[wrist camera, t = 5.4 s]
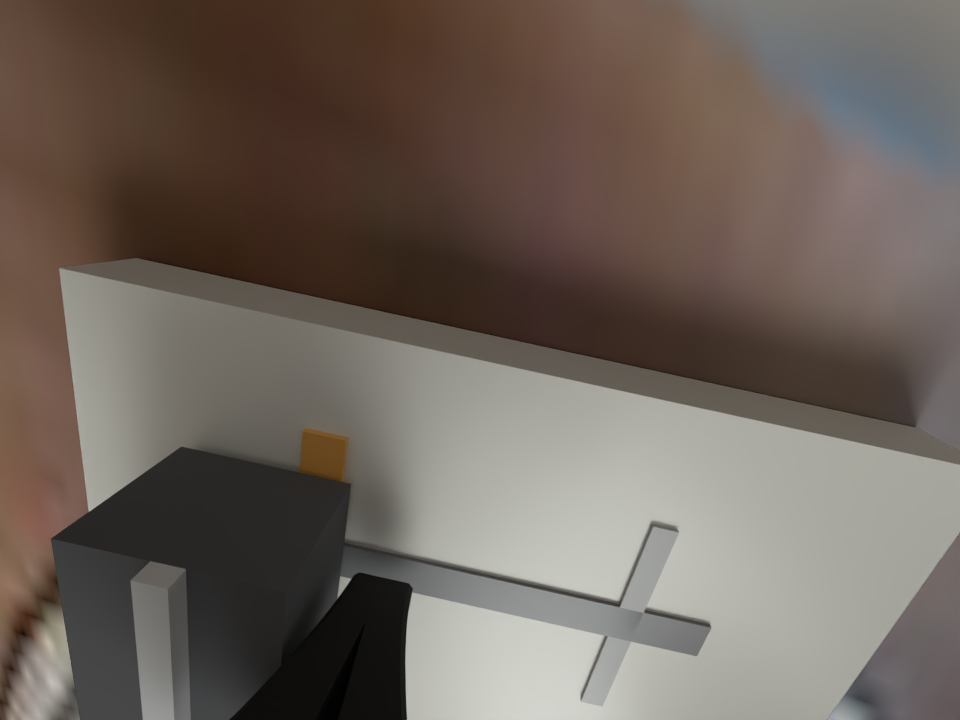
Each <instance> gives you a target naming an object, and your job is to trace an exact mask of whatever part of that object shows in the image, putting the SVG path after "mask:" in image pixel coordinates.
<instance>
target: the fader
mask: <svg viewBox="0 0 960 720" xmlns="http://www.w3.org/2000/svg"><path fill="white" fill-rule="evenodd" d="M350 490H351V484H348V483H344V482H339V481H335V480H330V479H326V478H321V477H317V476H312V475H308V474H303V473H299V472H294V471H290V470H285V469H281V468H276V467H272V466H267V465H263V464H258V463H254V462H249V461H245V460H240V459H236V458H231V457H227V456H222V455H218V454H213V453H209V452H204V451H200V450H195V449H191V448H186V447H182V446H181V447H180V448H179V449H177V450H176V451H174V452H173V453H171V454H170V455H169V456H167V457H166V458H164V459H163V460H162V461H160V462H159V463H157V464H156V465H155V466H153V467H152V468H150V469H149V470H147V471H146V472H145V473H143V474H142V475H140V476H139V477H138V478H136V479H135V480H133V481H132V482H130V483H129V484H128V485H126V486H125V487H123V488H122V489H121V490H119V491H118V492H116V493H115V494H114V495H112V496H111V497H109V498H108V499H106V500H105V501H104V502H102V503H101V504H99V505H98V506H97V507H95V508H94V509H92V510H91V511H89V512H88V513H87V514H85V515H84V516H82V517H81V518H80V519H78V520H77V521H75V522H74V523H73V524H71V525H70V526H68V527H67V528H65V529H64V530H63V531H61V532H60V533H58V534H57V535H56V536H54V537H53V538H51V542H52V548H53V554H54V560H55V567H56V573H57V579H58V585H59V591H60V598H61V604H62V610H63V616H64V622H65V629H66V635H67V641H68V647H69V653H70V660H71V666H72V672H73V678H74V684H75V690H76V697H77V703H78V709H79V715H80V720H229V719H230V718H231V717H232V716H233V715H235V714H236V713H237V712H238V711H239V710H240V709H241V708H242V707H243V706H244V705H245V704H246V702H247V701H248V700H249V699H250V698H251V697H252V696H253V695H254V694H255V693H256V692H257V691H258V690H259V689H260V688H261V687H262V686H263V685H264V684H265V683H266V681H267V680H268V679H269V678H270V677H271V676H272V675H273V674H274V673H275V672H276V671H277V670H278V669H279V668H280V667H281V666H282V665H283V663H284V662H285V661H286V660H287V659H288V658H289V657H290V656H291V654H292V653H293V652H294V651H295V650H296V649H297V647H298V646H299V645H300V644H301V643H302V642H303V641H304V639H305V638H306V637H307V636H308V635H309V634H310V632H311V631H312V630H313V629H314V628H315V627H316V625H317V624H318V623H319V622H320V620H321V619H322V618H323V617H324V615H325V614H326V613H327V612H328V610H329V609H330V608H331V607H332V605H333V604H334V603H335V601H336V600H337V597H338V589H339V581H340V572H341V564H342V556H343V547H344V539H345V531H346V523H347V514H348V506H349V498H350Z"/></svg>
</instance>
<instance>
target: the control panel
mask: <svg viewBox="0 0 960 720" xmlns="http://www.w3.org/2000/svg"><path fill="white" fill-rule="evenodd" d="M59 271H60V280H61V288H62V296H63V304H64V312H65V321H66V329H67V337H68V345H69V353H70V362H71V370H72V378H73V386H74V394H75V403H76V411H77V419H78V427H79V435H80V444H81V452H82V460H83V468H84V476H85V485H86V493H87V501H88V509H89V511H91V510H92V509H94V508H95V507H97V506H98V505H99V504H101V503H102V502H104V501H105V500H106V499H108V498H109V497H111V496H112V495H114V494H115V493H116V492H118V491H119V490H121V489H122V488H123V487H125V486H126V485H128V484H129V483H130V482H132V481H133V480H135V479H136V478H138V477H139V476H140V475H142V474H143V473H145V472H146V471H147V470H149V469H150V468H152V467H153V466H155V465H156V464H157V463H159V462H160V461H162V460H163V459H164V458H166V457H167V456H169V455H170V454H171V453H173V452H174V451H176V450H177V449H179V448H180V447H181V446H182V447H186V448H191V449H195V450H200V451H204V452H209V453H213V454H218V455H222V456H227V457H231V458H236V459H240V460H245V461H249V462H254V463H258V464H263V465H267V466H272V467H276V468H281V469H285V470H290V471H294V472H299V473H303V474H308V475H312V476H317V477H321V478H326V479H330V480H335V481H339V482H344V483H348V484H351V490H350V498H349V506H348V514H347V523H346V531H345V539H344V547H343V556H342V564H341V572H340V581H339V589H338V597H339V596H340V595H341V593H342V592H343V590H344V589H345V588H346V586H347V585H348V583H349V582H350V580H351V579H352V577H353V576H354V575H355V574H357V573H359V572H360V573H365V574H369V575H374V576H378V577H383V578H387V579H392V580H396V581H401V582H405V583H409V584H410V585H411V587H412V588H413V591H412V596H411V601H410V606H409V611H408V619H407V631H406V656H405V667H406V708H407V720H827V719H828V717H829V716H830V715H831V713H832V712H833V710H834V709H835V707H836V706H837V705H838V703H839V702H840V700H841V699H842V698H843V696H844V695H845V693H846V692H847V691H848V689H849V688H850V686H851V685H852V683H853V682H854V681H855V679H856V678H857V676H858V675H859V674H860V672H861V671H862V669H863V668H864V667H865V665H866V664H867V662H868V661H869V659H870V658H871V657H872V655H873V654H874V652H875V651H876V650H877V648H878V647H879V645H880V644H881V643H882V641H883V640H884V638H885V637H886V636H887V634H888V633H889V631H890V630H891V628H892V627H893V626H894V624H895V623H896V621H897V620H898V619H899V617H900V616H901V614H902V613H903V612H904V610H905V609H906V607H907V606H908V604H909V603H910V602H911V600H912V599H913V597H914V596H915V595H916V593H917V592H918V590H919V589H920V588H921V586H922V585H923V583H924V582H925V580H926V579H927V578H928V576H929V575H930V573H931V572H932V571H933V569H934V568H935V566H936V565H937V564H938V562H939V561H940V559H941V558H942V556H943V555H944V554H945V552H946V551H947V549H948V548H949V547H950V545H951V544H952V542H953V541H954V540H955V538H956V537H957V535H958V534H959V533H960V451H958V450H957V449H955V448H953V447H951V446H949V445H948V444H946V443H944V442H942V441H940V440H938V439H937V438H935V437H933V436H931V435H929V434H928V433H926V432H924V431H922V430H920V429H918V428H915V427H910V426H906V425H901V424H896V423H892V422H887V421H883V420H878V419H874V418H869V417H864V416H860V415H855V414H851V413H846V412H841V411H837V410H832V409H828V408H823V407H818V406H814V405H809V404H805V403H800V402H795V401H791V400H786V399H782V398H777V397H772V396H768V395H763V394H759V393H754V392H750V391H745V390H740V389H736V388H731V387H727V386H722V385H717V384H713V383H708V382H704V381H699V380H694V379H690V378H685V377H681V376H676V375H671V374H667V373H662V372H658V371H653V370H649V369H644V368H639V367H635V366H630V365H626V364H621V363H616V362H612V361H607V360H603V359H598V358H593V357H589V356H584V355H580V354H575V353H570V352H566V351H561V350H557V349H552V348H548V347H543V346H538V345H534V344H529V343H525V342H520V341H515V340H511V339H506V338H502V337H497V336H492V335H488V334H483V333H479V332H474V331H469V330H465V329H460V328H456V327H451V326H446V325H442V324H437V323H433V322H428V321H424V320H419V319H414V318H410V317H405V316H401V315H396V314H391V313H387V312H382V311H378V310H373V309H368V308H364V307H359V306H355V305H350V304H345V303H341V302H336V301H332V300H327V299H323V298H318V297H313V296H309V295H304V294H300V293H295V292H290V291H286V290H281V289H277V288H272V287H267V286H263V285H258V284H254V283H249V282H244V281H240V280H235V279H231V278H226V277H222V276H217V275H212V274H208V273H203V272H199V271H194V270H189V269H185V268H180V267H176V266H171V265H166V264H162V263H157V262H153V261H148V260H143V259H139V258H133V259H125V260H118V261H110V262H102V263H95V264H87V265H79V266H72V267H64V268H59ZM338 597H337V599H338Z"/></svg>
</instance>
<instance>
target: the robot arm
mask: <svg viewBox="0 0 960 720" xmlns="http://www.w3.org/2000/svg"><path fill="white" fill-rule="evenodd" d="M412 591H413V588H412V587H411V585H410V584H409V583H405V582H401V581H396V580H392V579H387V578H383V577H378V576H374V575H369V574H365V573H360V572H359V573H357V574H355V575H354V576H353V577H352V579H351V580H350V582H349V583H348V585H347V586H346V588H345V589H344V590H343V592H342V593H341V595H340V596H339V597H338V599H337V600H336V601H335V603H334V604H333V605H332V607H331V608H330V609H329V610H328V612H327V613H326V614H325V615H324V617H323V618H322V619H321V620H320V622H319V623H318V624H317V625H316V627H315V628H314V629H313V630H312V631H311V632H310V634H309V635H308V636H307V637H306V638H305V639H304V641H303V642H302V643H301V644H300V645H299V646H298V647H297V649H296V650H295V651H294V652H293V653H292V654H291V656H290V657H289V658H288V659H287V660H286V661H285V662H284V663H283V665H282V666H281V667H280V668H279V669H278V670H277V671H276V672H275V673H274V674H273V675H272V676H271V677H270V678H269V679H268V680H267V681H266V683H265V684H264V685H263V686H262V687H261V688H260V689H259V690H258V691H257V692H256V693H255V694H254V695H253V696H252V697H251V698H250V699H249V700H248V701H247V702H246V704H245V705H244V706H243V707H242V708H241V709H240V710H239V711H238V712H237V713H236V714H235V715H233V716H232V717H231V718H230V719H229V720H407V708H406V667H405V656H406V631H407V619H408V611H409V606H410V601H411V596H412Z"/></svg>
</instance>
